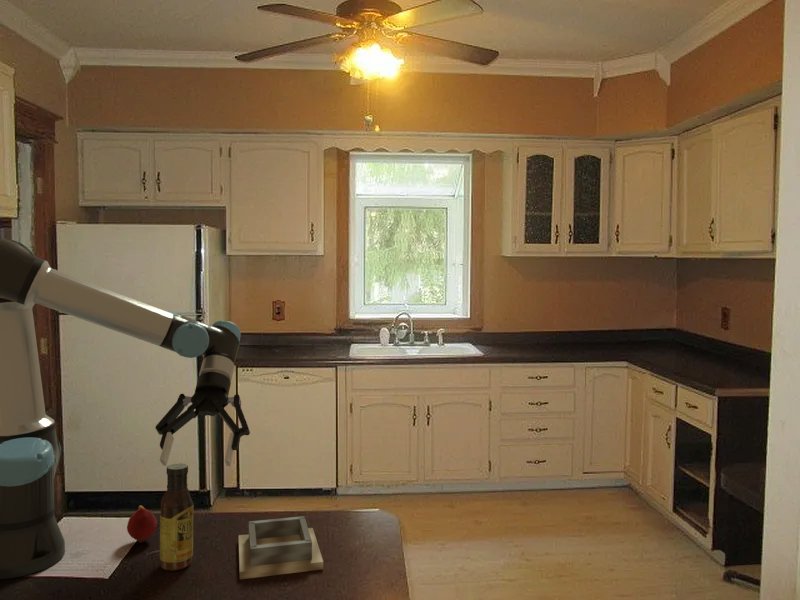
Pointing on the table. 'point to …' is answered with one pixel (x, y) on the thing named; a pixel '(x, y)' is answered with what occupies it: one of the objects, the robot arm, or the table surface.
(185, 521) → the sauce bottle
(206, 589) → the table surface
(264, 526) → the bottle holder
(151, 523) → the onion
